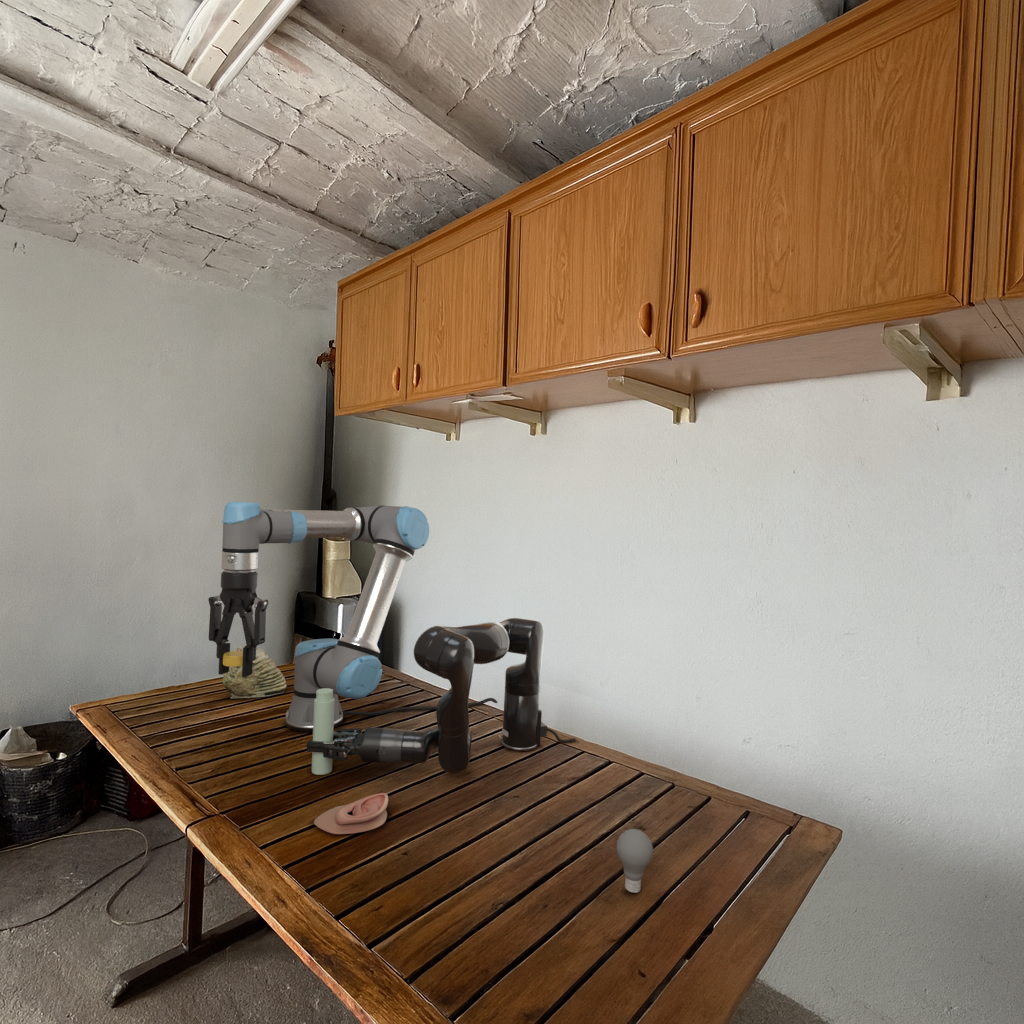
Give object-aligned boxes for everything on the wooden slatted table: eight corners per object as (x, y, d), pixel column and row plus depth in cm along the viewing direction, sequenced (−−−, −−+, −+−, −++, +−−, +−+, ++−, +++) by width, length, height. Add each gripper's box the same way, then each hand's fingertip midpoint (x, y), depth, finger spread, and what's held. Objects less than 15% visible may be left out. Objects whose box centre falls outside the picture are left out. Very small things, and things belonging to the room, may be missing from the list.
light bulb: (610, 879, 108) (613, 822, 108) (644, 879, 109) (647, 822, 109) (619, 902, 102) (622, 840, 102) (655, 901, 103) (658, 840, 103)
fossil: (218, 695, 195) (220, 647, 195) (278, 685, 208) (279, 640, 207) (228, 703, 189) (230, 653, 188) (289, 692, 201) (290, 645, 201)
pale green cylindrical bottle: (310, 767, 148) (313, 688, 147) (330, 765, 149) (333, 687, 149) (312, 775, 143) (315, 694, 143) (332, 773, 145) (336, 692, 145)
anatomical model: (306, 809, 120) (334, 783, 131) (305, 829, 120) (334, 802, 131) (371, 819, 117) (395, 791, 129) (370, 840, 117) (394, 811, 129)
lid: (253, 663, 143) (253, 653, 143) (231, 668, 138) (232, 657, 138) (239, 659, 146) (239, 649, 146) (217, 663, 141) (218, 653, 141)
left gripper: (192, 569, 140) (188, 674, 140) (266, 575, 136) (262, 682, 137) (214, 566, 147) (210, 666, 147) (285, 571, 144) (281, 673, 144)
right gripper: (391, 718, 153) (321, 715, 153) (378, 741, 139) (300, 737, 139) (390, 749, 153) (320, 745, 153) (376, 774, 139) (299, 771, 139)
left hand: (235, 673), depth 142 cm, fingers closed on lid, 5 cm apart
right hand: (311, 741), depth 146 cm, fingers closed on pale green cylindrical bottle, 4 cm apart
